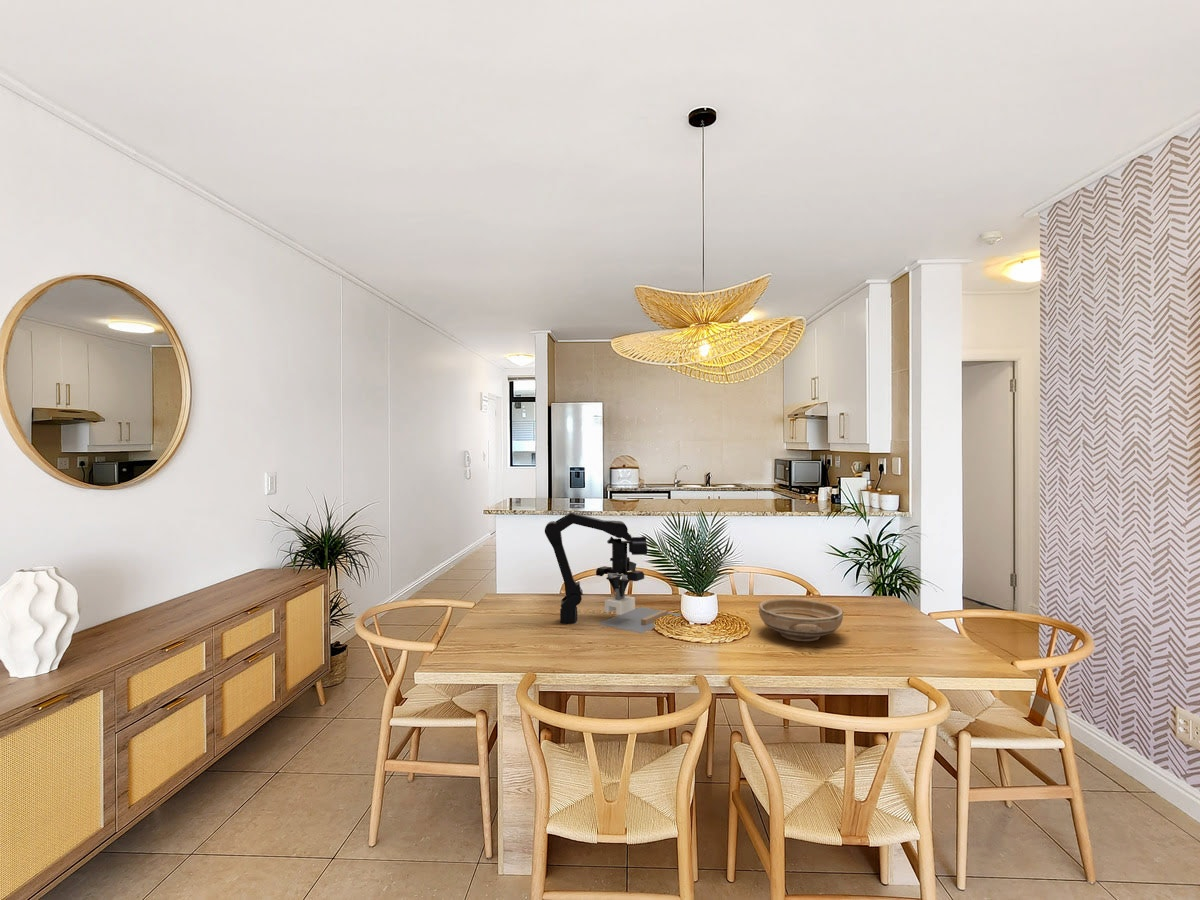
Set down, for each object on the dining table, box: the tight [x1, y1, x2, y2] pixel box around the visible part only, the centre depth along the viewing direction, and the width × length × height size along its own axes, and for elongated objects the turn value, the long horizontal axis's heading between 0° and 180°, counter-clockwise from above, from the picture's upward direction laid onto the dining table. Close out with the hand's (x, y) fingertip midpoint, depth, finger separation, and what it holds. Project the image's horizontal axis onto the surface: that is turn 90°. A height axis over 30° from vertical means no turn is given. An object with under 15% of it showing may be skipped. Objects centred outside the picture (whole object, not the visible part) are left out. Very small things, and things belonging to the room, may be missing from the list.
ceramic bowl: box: [758, 597, 844, 642], centre depth 216 cm, size 37×29×10 cm
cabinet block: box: [604, 588, 636, 616], centre depth 232 cm, size 10×7×8 cm
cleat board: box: [596, 606, 682, 634], centre depth 234 cm, size 30×20×3 cm, turn 144°
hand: (619, 596), depth 232 cm, fingers closed on cabinet block
